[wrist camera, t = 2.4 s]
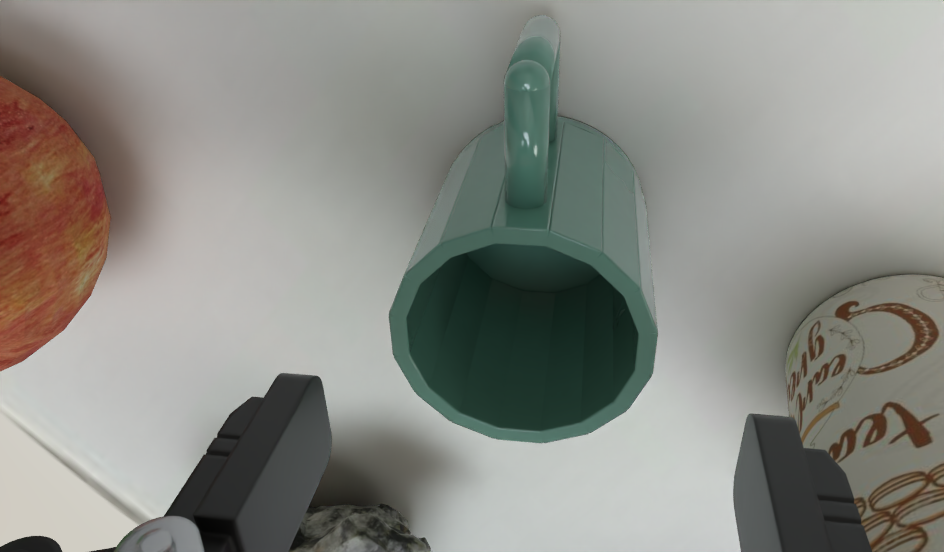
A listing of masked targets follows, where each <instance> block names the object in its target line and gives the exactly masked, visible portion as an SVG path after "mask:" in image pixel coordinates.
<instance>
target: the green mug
mask: <svg viewBox="0 0 944 552" xmlns="http://www.w3.org/2000/svg"><path fill="white" fill-rule="evenodd" d="M559 63H560V29H559V26H558V24H557V23H556V22H555V20H553V19H552V18H551V17H549V16H545V15H538V16H535V17H533V18H531V19H530V20H528V21H527V23H526V24H525V26H524V28H523V30H522V33H521V35H520V38H519V41H518V43H517V46H516V48H515V51H514V54H513V56H512V59H511V61H510V64H509V67H508V69H507V72H506V74H505V78H504V121H503V122H501V123H499V124H497V125H494V126H492V127H490V128H489V129H487V130H485V131H484V132H482V133H480V134H479V135H478V136H477V137H475V138H474V139H473V140H472V141H471V142H470V143H469V144H468V145H467V146H466V147H465V148H464V149H463V150H462V151H461V153H460V154H459V156H458V157H457V159H456V160H455V161H454V163H453V164H452V166H451V168H450V170H449V173H448V175H447V177H446V180H445V182H444V184H443V186H442V189H441V191H440V193H439V196H438V198H437V200H436V203H435V205H434V207H433V209H432V212H431V214H430V216H429V219H428V221H427V223H426V225H425V228H424V230H423V232H422V235H421V237H420V239H419V242H418V244H417V246H416V248H415V251H414V253H413V255H412V258H411V260H410V262H409V264H408V267H407V269H406V271H405V274H404V276H403V279H402V281H401V284H400V286H399V289H398V291H397V294H396V296H395V299H394V301H393V304H392V306H391V309H390V312H389V323H390V332H391V341H392V350H393V355H394V358H395V360H396V362H397V363H398V365H399V367H400V368H401V370H402V372H403V373H404V375H405V377H406V378H407V380H408V382H409V383H410V385H411V387H412V388H413V390H414V392H416V394H417V395H418V396H419V397H421V398H422V399H423V400H424V401H426V402H427V403H428V404H429V405H431V406H432V407H433V408H434V409H436V410H437V411H438V412H439V413H441V414H442V415H443V416H444V417H446V418H447V419H448V420H449V421H452V422H453V423H455V424H458V425H460V426H463V427H465V428H468V429H471V430H473V431H476V432H478V433H481V434H483V435H486V436H488V437H491V438H494V439H495V438H496V439H498V440H510V441H521V442H532V443H548V442H553V441H557V440H562V439H567V438H571V437H576V436H581V435H586V434H588V433H591V432H593V431H595V430H596V429H598V428H600V427H601V426H603V425H604V424H606V423H608V422H609V421H611V420H613V419H614V418H616V417H618V416H619V415H621V414H623V413H624V412H626V411H627V410H628V409H629V408H630V406H631V405H632V403H633V402H634V401H635V399H636V398H637V396H638V395H639V393H640V392H641V391H642V389H643V388H644V386H645V385H646V383H647V382H648V381H649V379H650V378H651V376H652V373H653V369H654V361H655V353H656V345H657V337H658V329H657V318H656V307H655V296H654V285H653V275H652V264H651V253H650V242H649V231H648V220H647V209H646V202H645V200H644V197H643V191H642V187H641V184H640V180H639V177H638V175H637V173H636V171H635V168H634V167H633V165H632V163H631V162H630V160H629V159H628V157H627V156H626V155H625V154H624V152H623V151H622V150H621V149H620V148H619V146H617V145H616V144H615V143H614V142H613V141H612V140H611V139H610V138H608V137H607V136H605V135H604V134H603V133H601V132H600V131H598V130H596V129H594V128H592V127H590V126H588V125H586V124H584V123H581V122H579V121H576V120H573V119H569V118H565V117H560V116H558V94H559Z"/></svg>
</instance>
